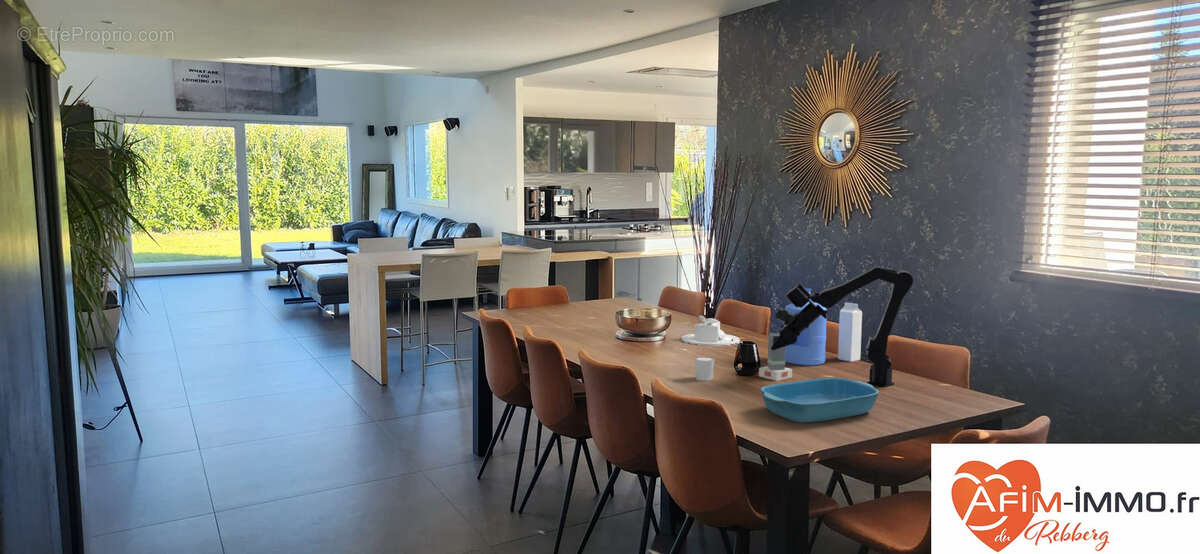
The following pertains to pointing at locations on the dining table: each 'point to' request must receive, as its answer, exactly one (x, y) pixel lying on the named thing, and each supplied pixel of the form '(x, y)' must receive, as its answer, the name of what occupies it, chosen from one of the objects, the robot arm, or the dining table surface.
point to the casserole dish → (819, 399)
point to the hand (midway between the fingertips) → (772, 347)
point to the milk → (850, 332)
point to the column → (775, 354)
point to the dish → (709, 334)
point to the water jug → (808, 341)
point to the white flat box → (775, 373)
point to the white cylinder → (704, 368)
